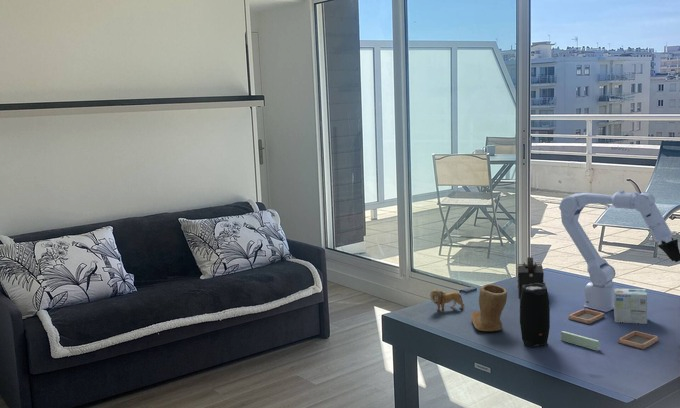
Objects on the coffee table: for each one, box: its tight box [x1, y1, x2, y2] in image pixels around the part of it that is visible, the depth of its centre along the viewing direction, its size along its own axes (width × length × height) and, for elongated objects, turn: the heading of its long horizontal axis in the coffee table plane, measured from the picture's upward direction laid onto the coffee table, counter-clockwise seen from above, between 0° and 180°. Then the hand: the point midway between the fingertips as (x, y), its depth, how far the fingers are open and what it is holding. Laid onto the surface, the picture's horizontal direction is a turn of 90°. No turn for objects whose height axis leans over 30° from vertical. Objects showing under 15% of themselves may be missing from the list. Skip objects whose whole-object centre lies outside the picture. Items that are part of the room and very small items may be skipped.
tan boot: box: [470, 283, 508, 332], centre depth 241 cm, size 15×12×15 cm
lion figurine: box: [429, 289, 465, 313], centre depth 261 cm, size 15×5×9 cm, turn 113°
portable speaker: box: [519, 283, 551, 348], centre depth 222 cm, size 9×9×20 cm
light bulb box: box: [613, 287, 648, 325], centre depth 239 cm, size 11×7×11 cm, turn 71°
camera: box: [516, 256, 547, 299], centre depth 274 cm, size 11×14×15 cm
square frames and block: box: [560, 308, 659, 351], centre depth 229 cm, size 32×29×3 cm
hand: (677, 260), depth 234 cm, fingers open, 7 cm apart
